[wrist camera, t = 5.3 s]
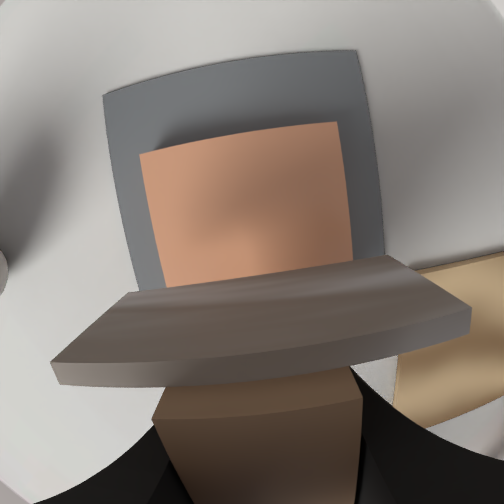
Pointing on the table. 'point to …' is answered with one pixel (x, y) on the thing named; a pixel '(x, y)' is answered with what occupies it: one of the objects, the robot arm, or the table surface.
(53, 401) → the table surface
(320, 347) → the brown grey t-shaped block
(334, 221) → the tile
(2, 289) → the donut
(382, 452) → the robot arm
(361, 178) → the slate mat
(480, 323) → the oak board
